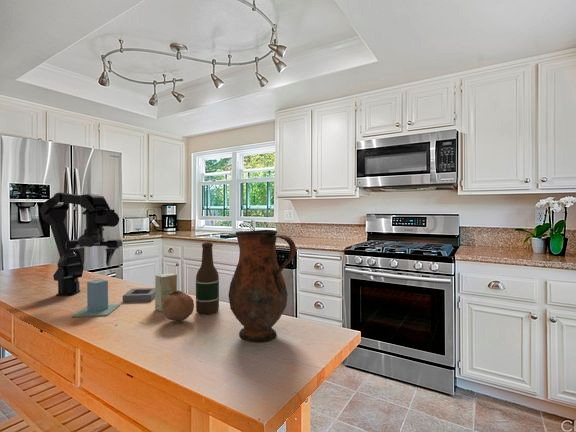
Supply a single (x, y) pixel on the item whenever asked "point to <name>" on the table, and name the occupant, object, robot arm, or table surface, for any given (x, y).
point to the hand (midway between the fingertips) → (95, 265)
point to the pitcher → (259, 284)
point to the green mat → (86, 313)
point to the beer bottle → (207, 284)
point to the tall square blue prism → (97, 295)
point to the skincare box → (164, 288)
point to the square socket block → (139, 295)
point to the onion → (178, 306)
